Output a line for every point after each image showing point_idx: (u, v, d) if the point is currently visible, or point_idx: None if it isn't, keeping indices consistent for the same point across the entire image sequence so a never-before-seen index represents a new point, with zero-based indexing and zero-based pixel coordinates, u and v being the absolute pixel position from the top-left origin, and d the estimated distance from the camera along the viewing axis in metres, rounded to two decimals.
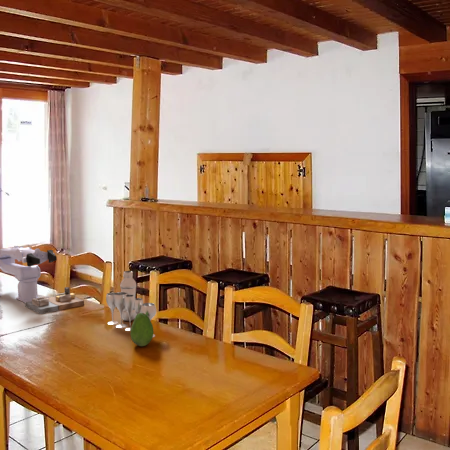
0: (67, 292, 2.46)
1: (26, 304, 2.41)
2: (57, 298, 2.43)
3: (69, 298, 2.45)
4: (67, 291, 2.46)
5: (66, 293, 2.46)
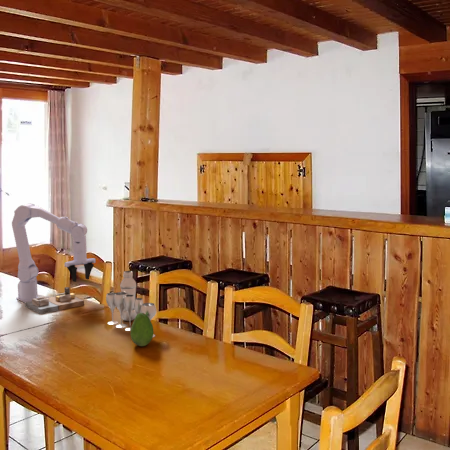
0: (67, 292, 2.46)
1: (26, 304, 2.41)
2: (57, 298, 2.43)
3: (69, 298, 2.45)
4: (67, 291, 2.46)
5: (66, 293, 2.46)
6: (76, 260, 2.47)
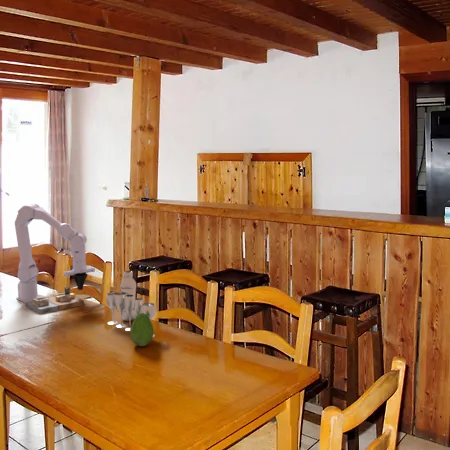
0: (67, 292, 2.46)
1: (26, 304, 2.41)
2: (57, 298, 2.43)
3: (69, 298, 2.45)
4: (67, 291, 2.46)
5: (66, 293, 2.46)
6: (75, 269, 2.47)
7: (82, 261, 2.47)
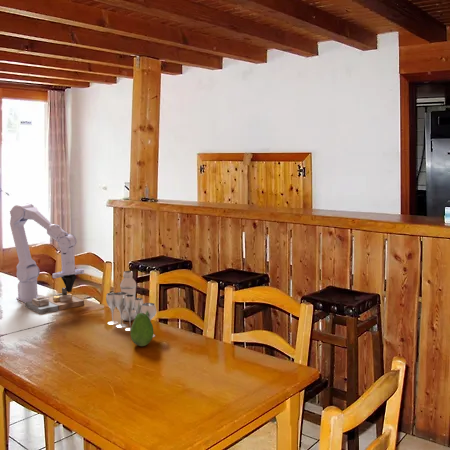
0: (64, 293, 2.45)
1: (26, 304, 2.41)
2: (54, 299, 2.43)
3: (69, 298, 2.45)
4: (64, 292, 2.45)
5: (63, 294, 2.45)
6: (64, 271, 2.44)
7: (71, 263, 2.44)
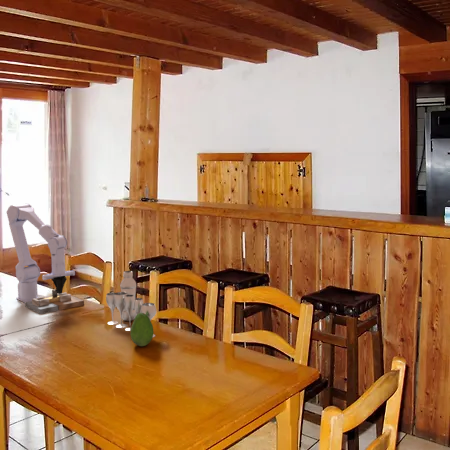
0: (55, 294, 2.42)
1: (26, 304, 2.41)
2: None
3: (69, 298, 2.45)
4: (55, 293, 2.42)
5: (54, 295, 2.42)
6: (54, 273, 2.40)
7: (61, 264, 2.41)
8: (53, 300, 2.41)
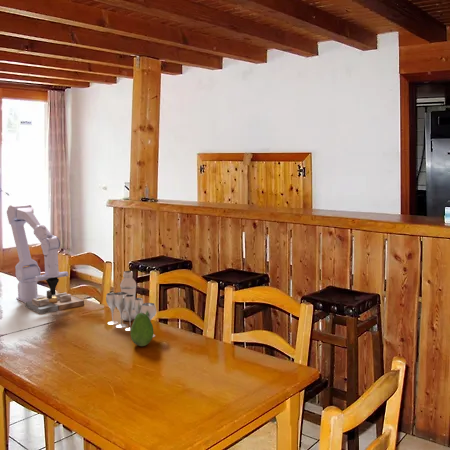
0: (49, 295, 2.40)
1: (26, 304, 2.41)
2: None
3: (69, 298, 2.45)
4: (49, 294, 2.40)
5: (48, 296, 2.40)
6: (47, 274, 2.38)
7: (54, 265, 2.38)
8: None
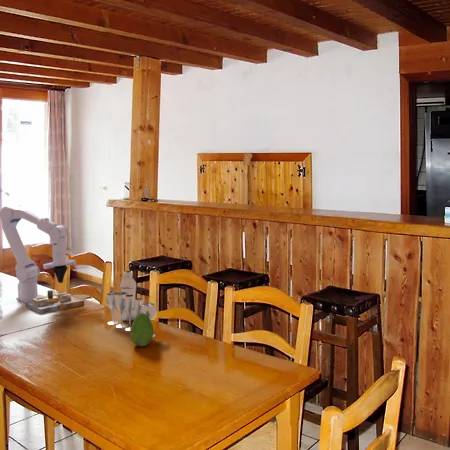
0: (50, 295, 2.40)
1: (26, 304, 2.41)
2: None
3: (69, 298, 2.45)
4: (50, 294, 2.40)
5: (49, 296, 2.40)
6: (55, 262, 2.43)
7: (62, 253, 2.43)
8: None
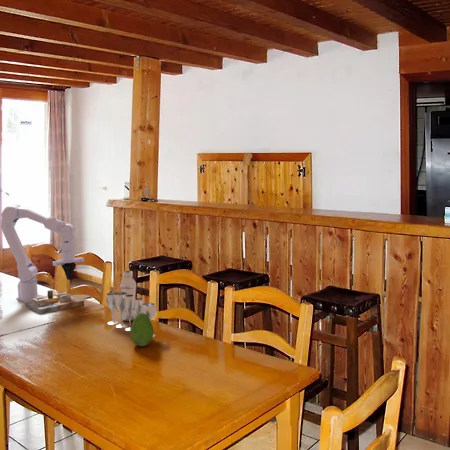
0: (50, 295, 2.40)
1: (26, 304, 2.41)
2: None
3: (69, 298, 2.45)
4: (50, 294, 2.40)
5: (49, 296, 2.40)
6: (64, 259, 2.49)
7: (71, 251, 2.49)
8: None
